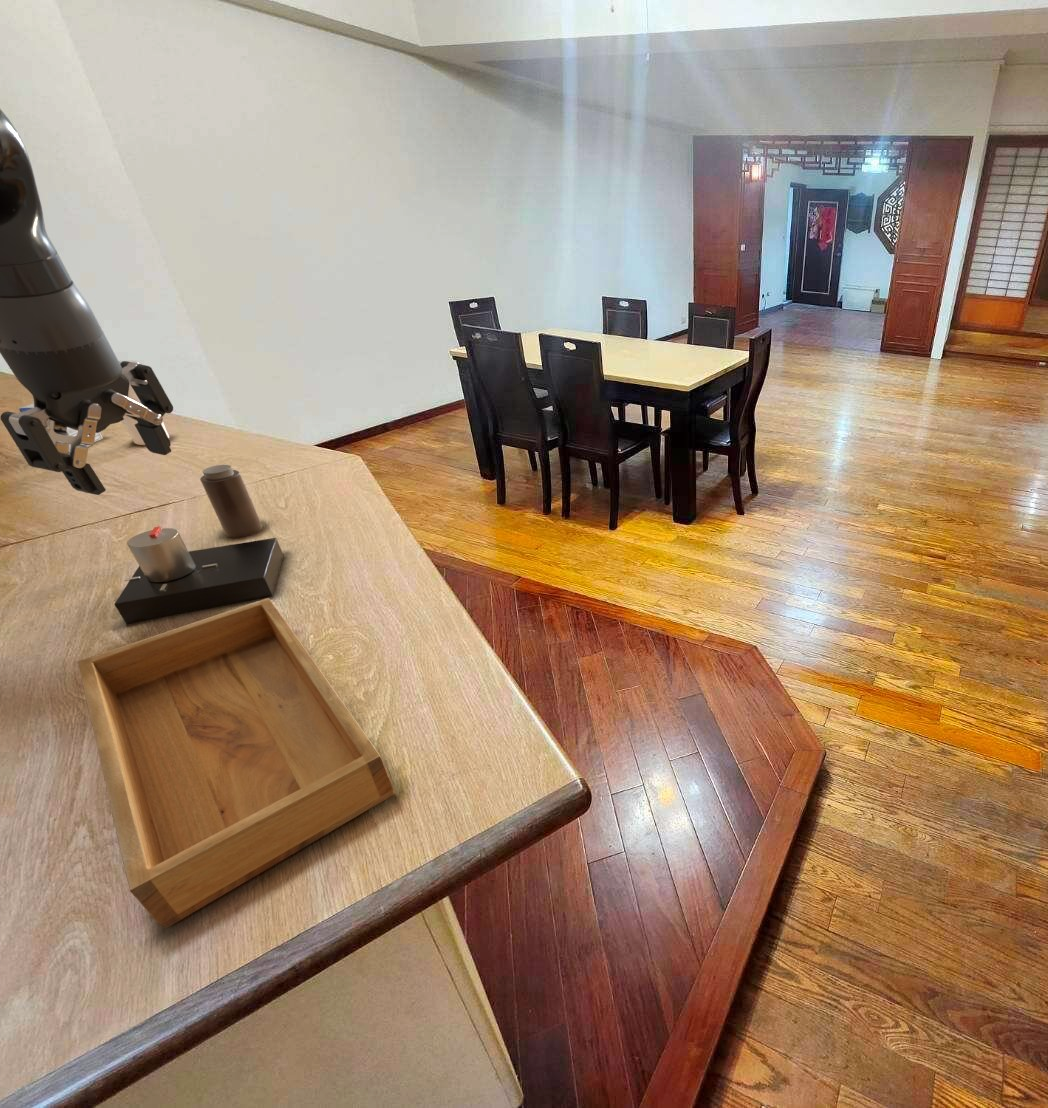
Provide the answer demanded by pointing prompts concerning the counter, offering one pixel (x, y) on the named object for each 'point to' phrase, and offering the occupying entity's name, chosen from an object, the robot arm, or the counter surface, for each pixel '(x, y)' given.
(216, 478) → the pepper mill
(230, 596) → the stove panel
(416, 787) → the counter surface
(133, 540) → the stove knob
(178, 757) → the tray
